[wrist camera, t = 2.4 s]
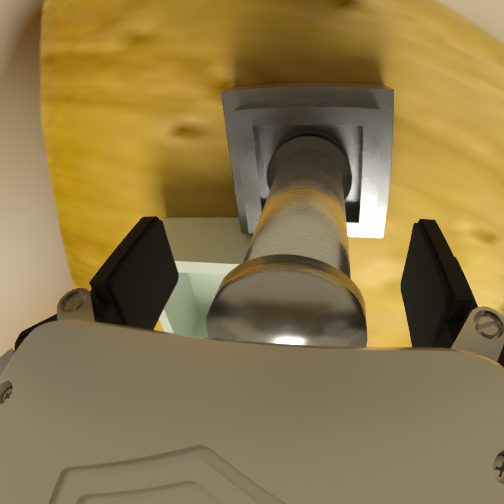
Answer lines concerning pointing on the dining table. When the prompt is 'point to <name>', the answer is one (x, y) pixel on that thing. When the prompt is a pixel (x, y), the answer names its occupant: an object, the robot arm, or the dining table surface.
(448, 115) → the dining table surface
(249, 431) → the robot arm
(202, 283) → the bin
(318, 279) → the grey rounded piece
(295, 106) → the socket block
